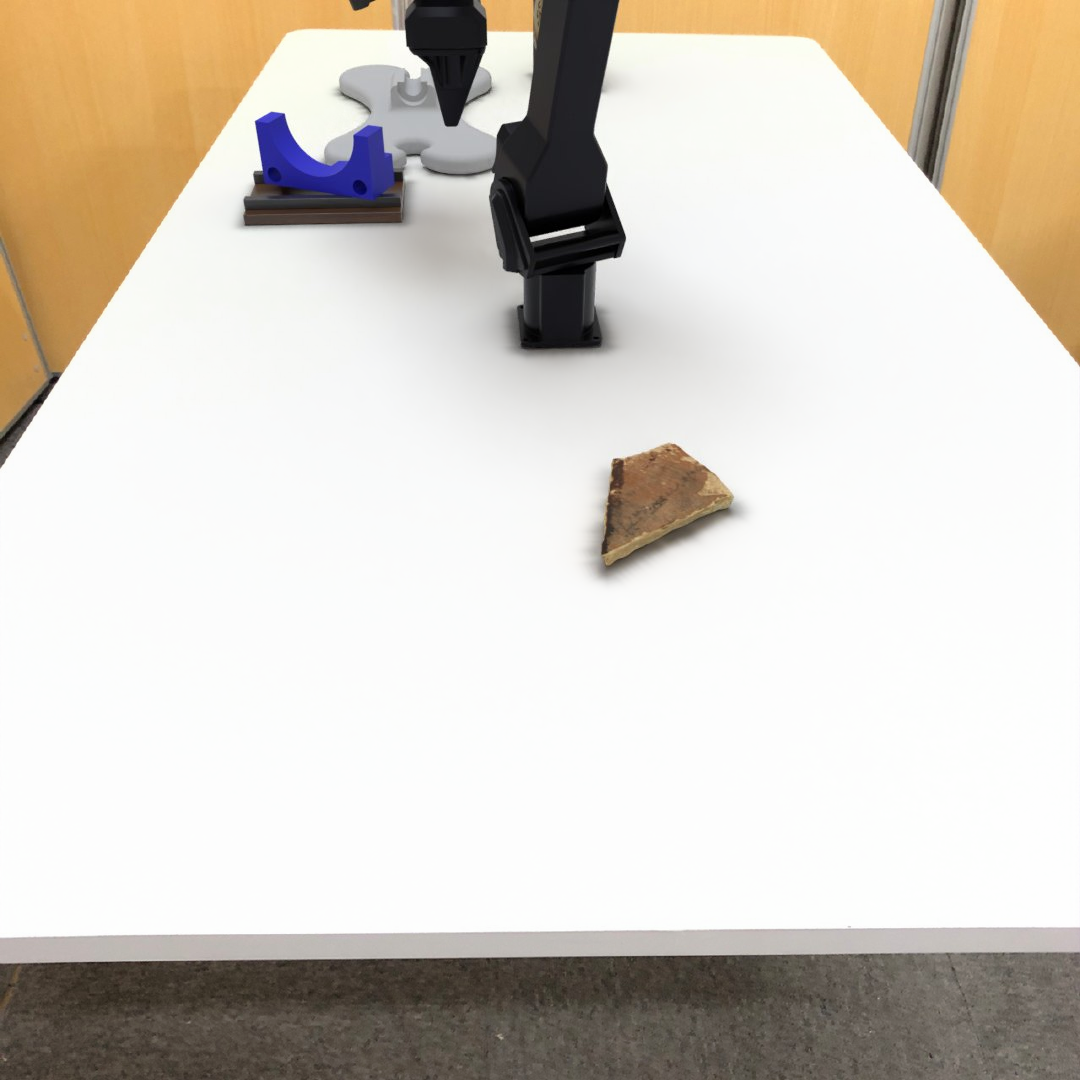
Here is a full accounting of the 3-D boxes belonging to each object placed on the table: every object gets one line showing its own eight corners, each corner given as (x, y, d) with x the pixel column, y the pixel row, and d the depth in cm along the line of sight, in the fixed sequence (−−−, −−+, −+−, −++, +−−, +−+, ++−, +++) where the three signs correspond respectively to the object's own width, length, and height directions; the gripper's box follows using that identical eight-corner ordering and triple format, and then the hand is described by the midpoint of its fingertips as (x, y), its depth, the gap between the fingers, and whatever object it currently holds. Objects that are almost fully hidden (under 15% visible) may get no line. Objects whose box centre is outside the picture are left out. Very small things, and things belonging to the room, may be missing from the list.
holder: (490, 77, 138) (489, 36, 135) (504, 175, 112) (503, 127, 109) (342, 80, 137) (338, 38, 134) (322, 179, 111) (316, 131, 108)
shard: (600, 573, 63) (601, 550, 62) (529, 508, 68) (529, 485, 67) (736, 511, 68) (739, 489, 67) (661, 454, 73) (663, 432, 72)
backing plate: (401, 222, 103) (400, 201, 101) (244, 225, 102) (241, 204, 100) (404, 182, 110) (403, 163, 109) (259, 185, 109) (255, 166, 108)
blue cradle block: (394, 183, 105) (389, 121, 101) (373, 200, 101) (367, 137, 98) (288, 167, 108) (279, 106, 104) (264, 183, 105) (254, 121, 101)
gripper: (345, -117, 89) (363, 78, 99) (326, -76, 75) (350, 147, 85) (477, -118, 90) (483, 76, 100) (484, -77, 75) (490, 145, 85)
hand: (451, 108), depth 92 cm, fingers open, 9 cm apart
